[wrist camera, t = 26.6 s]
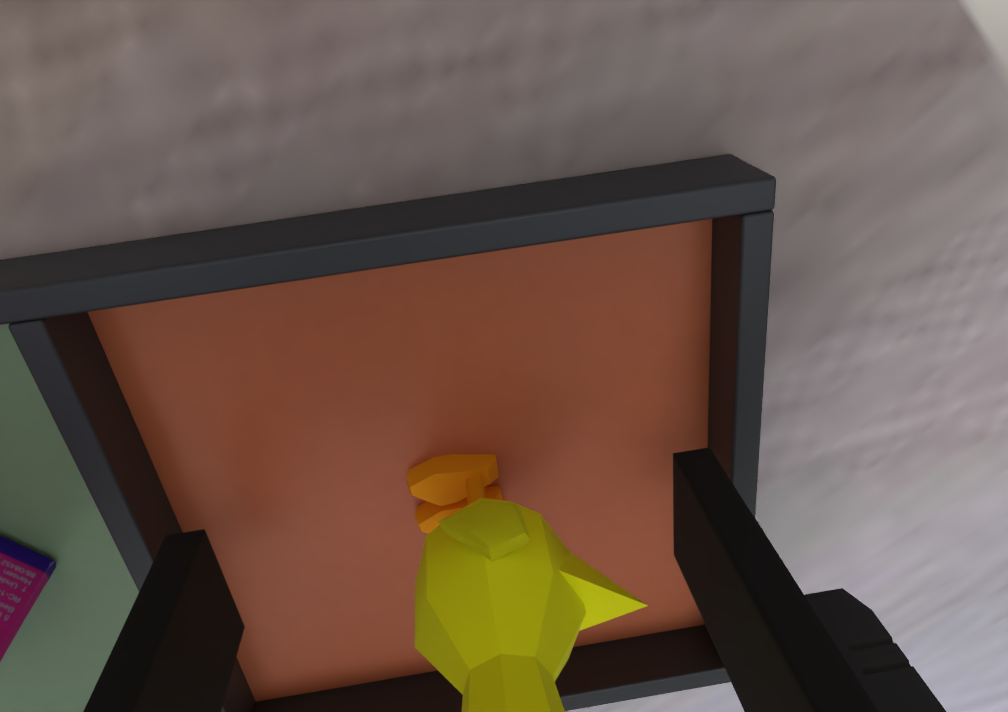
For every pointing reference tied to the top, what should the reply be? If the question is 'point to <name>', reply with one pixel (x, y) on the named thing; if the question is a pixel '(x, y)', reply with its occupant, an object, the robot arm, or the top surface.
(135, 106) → the top surface
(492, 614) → the toy figure
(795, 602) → the robot arm
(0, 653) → the supplement box
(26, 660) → the tray
